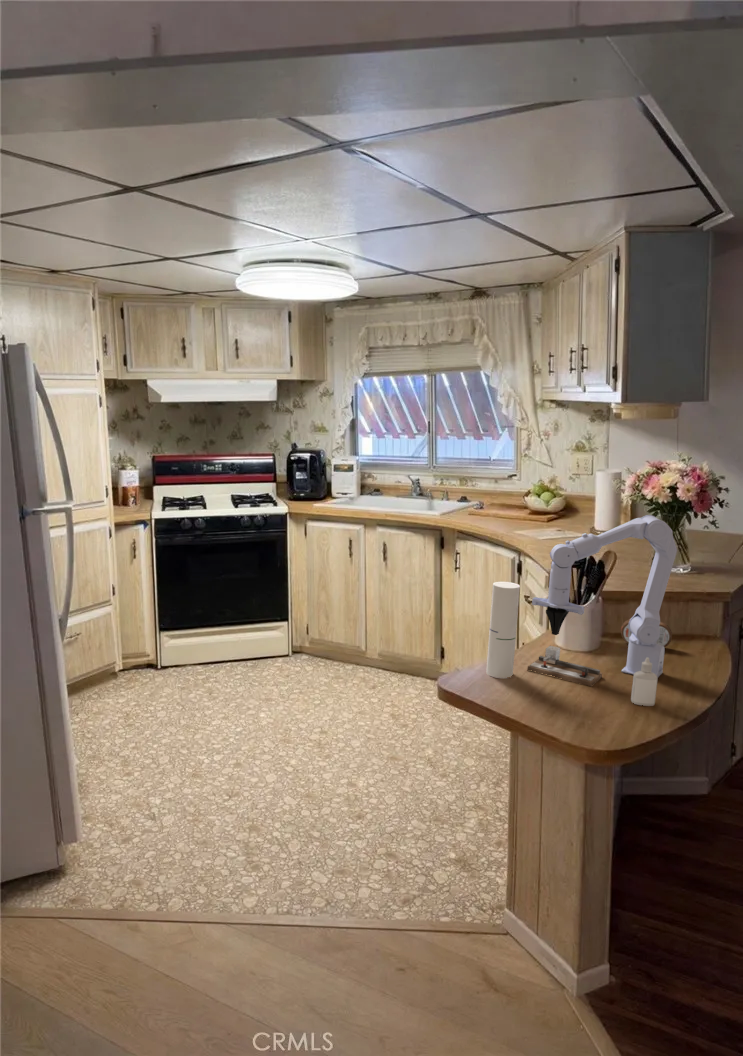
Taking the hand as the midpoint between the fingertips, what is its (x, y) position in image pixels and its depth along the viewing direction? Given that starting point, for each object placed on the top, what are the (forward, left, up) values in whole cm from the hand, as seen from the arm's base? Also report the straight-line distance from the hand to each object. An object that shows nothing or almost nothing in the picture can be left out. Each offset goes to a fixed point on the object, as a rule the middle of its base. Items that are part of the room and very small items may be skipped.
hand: (555, 633), depth 213 cm
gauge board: (-5, +4, -9) cm, 11 cm away
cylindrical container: (+9, +16, -10) cm, 21 cm away
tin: (-16, -37, -10) cm, 41 cm away
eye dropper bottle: (-28, +11, -10) cm, 32 cm away
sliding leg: (0, +3, -8) cm, 9 cm away
